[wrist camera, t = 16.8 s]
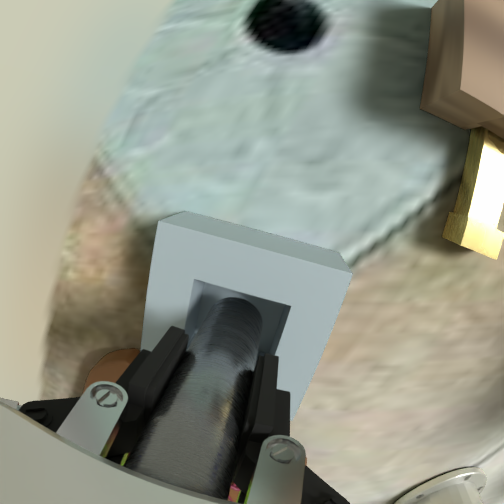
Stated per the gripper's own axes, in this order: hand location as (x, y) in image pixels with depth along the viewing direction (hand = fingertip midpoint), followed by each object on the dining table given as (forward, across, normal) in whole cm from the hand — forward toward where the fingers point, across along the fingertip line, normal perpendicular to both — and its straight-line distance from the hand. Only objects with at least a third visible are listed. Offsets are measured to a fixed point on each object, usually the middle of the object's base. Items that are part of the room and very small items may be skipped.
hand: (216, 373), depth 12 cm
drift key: (+7, -12, -13) cm, 19 cm away
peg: (+4, 0, 0) cm, 4 cm away
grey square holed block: (+7, 0, 0) cm, 7 cm away
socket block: (+7, -12, -18) cm, 23 cm away
